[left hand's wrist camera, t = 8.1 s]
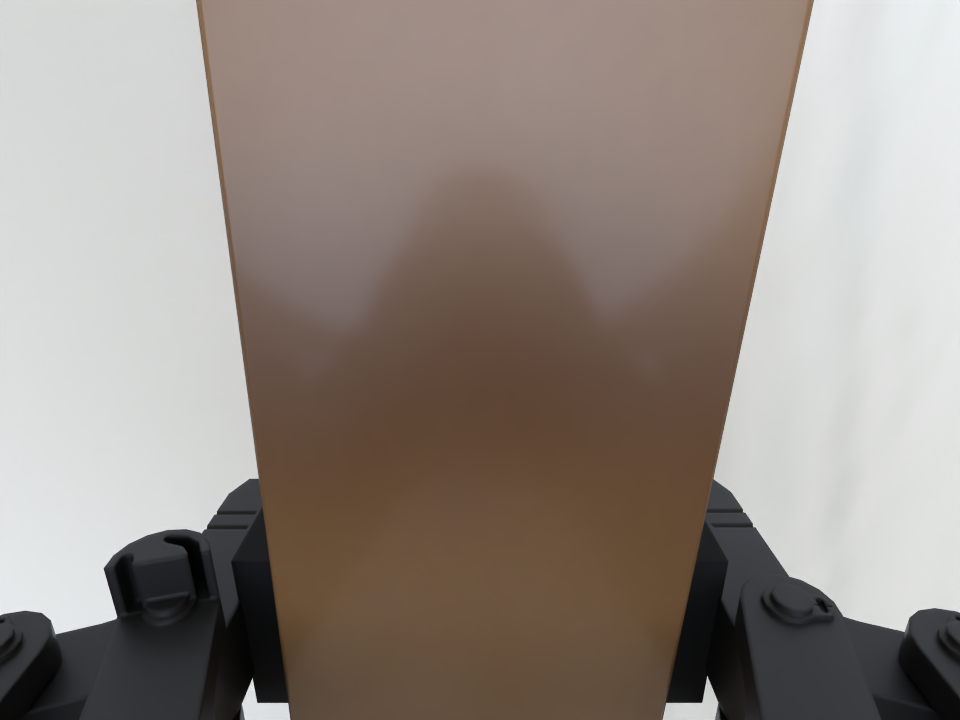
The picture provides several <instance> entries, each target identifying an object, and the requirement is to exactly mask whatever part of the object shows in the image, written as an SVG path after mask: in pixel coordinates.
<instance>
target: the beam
mask: <svg viewBox="0 0 960 720" xmlns="http://www.w3.org/2000/svg"><path fill="white" fill-rule="evenodd" d="M813 2H814V0H196V3H197V11H198V18H199V26H200V33H201V41H202V49H203V56H204V64H205V72H206V79H207V87H208V94H209V102H210V110H211V117H212V125H213V133H214V140H215V148H216V155H217V163H218V171H219V178H220V186H221V193H222V201H223V209H224V216H225V224H226V232H227V239H228V247H229V254H230V262H231V270H232V277H233V285H234V293H235V300H236V308H237V315H238V323H239V331H240V338H241V346H242V354H243V361H244V369H245V376H246V384H247V392H248V399H249V407H250V415H251V422H252V430H253V437H254V445H255V453H256V460H257V468H258V476H259V483H260V491H261V498H262V506H263V514H264V521H265V529H266V537H267V544H268V552H269V559H270V567H271V575H272V582H273V590H274V597H275V605H276V613H277V620H278V628H279V636H280V643H281V651H282V658H283V666H284V674H285V681H286V689H287V697H288V704H289V712H290V719H291V720H663V715H664V710H665V705H666V701H667V696H668V691H669V686H670V682H671V677H672V672H673V667H674V663H675V658H676V653H677V648H678V644H679V639H680V634H681V629H682V625H683V620H684V615H685V610H686V606H687V601H688V596H689V591H690V587H691V582H692V577H693V572H694V568H695V563H696V558H697V553H698V549H699V544H700V539H701V534H702V530H703V525H704V520H705V515H706V511H707V506H708V501H709V496H710V492H711V487H712V482H713V477H714V472H715V468H716V463H717V458H718V453H719V449H720V444H721V439H722V434H723V430H724V425H725V420H726V415H727V411H728V406H729V401H730V396H731V392H732V387H733V382H734V377H735V373H736V368H737V363H738V358H739V354H740V349H741V344H742V339H743V335H744V330H745V325H746V320H747V316H748V311H749V306H750V301H751V297H752V292H753V287H754V282H755V278H756V273H757V268H758V263H759V259H760V254H761V249H762V244H763V240H764V235H765V230H766V225H767V221H768V216H769V211H770V206H771V202H772V197H773V192H774V187H775V182H776V178H777V173H778V168H779V163H780V159H781V154H782V149H783V144H784V140H785V135H786V130H787V125H788V121H789V116H790V111H791V106H792V102H793V97H794V92H795V87H796V83H797V78H798V73H799V68H800V64H801V59H802V54H803V49H804V45H805V40H806V35H807V30H808V26H809V21H810V16H811V11H812V7H813Z"/></svg>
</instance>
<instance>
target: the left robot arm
mask: <svg viewBox="0 0 960 720" xmlns="http://www.w3.org/2000/svg"><path fill="white" fill-rule="evenodd" d="M104 571H105V575H106V578H107V582H108V585H109V589H110V592H111V596H112V599H113V603H114V606H115V610H116V613H117V619H116V620H112V621H109V622H106V623H103V624H99V625H94V626H90V627H86V628H82V629H77V630H73V631H69V632H64V633H60V634H56V635H55V632H54V629H53V626H52V623H51V620H50V619H48V618H47V617H46V616H45V615H43V614H42V613H38V612H30V611H21V612H15V613H8V614H3V615H0V720H245V719H244V713H243V708H242V702H243V700H244V697H245V695H246V692H247V690H248V687H249V685H250V683H251V680H252V678H253V682H254V687H255V692H256V698H257V703H288V697H287V689H286V681H285V674H284V666H283V658H282V651H281V643H280V636H279V628H278V620H277V613H276V605H275V597H274V590H273V582H272V575H271V567H270V559H269V552H268V544H267V537H266V529H265V521H264V514H263V506H262V498H261V491H260V483H259V479H249V480H248V481H246V482H245V483H243V484H242V485H241V486H239V487H238V488H236V489H235V490H234V491H232V492H231V493H230V494H229V495H228V496H227V498H226V499H225V501H224V502H223V503H222V505H221V506H220V508H219V509H218V511H217V515H214V517H213V518H212V520H211V521H210V522H209V524H208V525H207V530H204V531H203V533H202V534H201V533H199V532H195V531H191V530H187V529H182V530H166V531H163V532H159V533H155V534H151V535H147V536H145V537H143V538H141V539H139V540H137V541H134V542H132V543H130V544H128V545H127V546H126V547H124V548H123V549H122V550H120V551H119V552H118V553H116V554H115V555H114V556H113V557H112V558H111V559H110V561H109V562H108V564H107V565H106V566H105V568H104ZM707 676H708V678H709V681H710V683H711V686H712V688H713V690H714V693H715V695H716V698H717V700H718V702H719V703H718V708H717V713H716V718H715V720H960V613H959V612H956V611H949V610H943V609H936V608H933V609H926V610H919V611H918V612H916V613H915V614H914V615H913V616H911V617H910V618H909V621H908V624H907V627H906V630H905V632H902V631H898V630H893V629H889V628H885V627H880V626H876V625H872V624H867V623H863V622H859V621H855V620H852V619H849V618H846V617H843V615H842V614H841V612H840V611H839V609H838V608H837V606H836V605H835V603H834V602H833V601H832V600H831V599H830V598H829V597H827V596H826V595H825V594H824V593H823V592H821V591H820V590H819V589H817V588H815V587H813V586H811V585H809V584H807V583H805V582H804V581H802V580H799V579H795V578H792V577H789V576H788V574H787V573H786V571H785V570H784V568H783V567H782V566H781V564H780V563H779V561H778V560H777V558H776V557H775V555H774V554H773V552H772V551H771V550H770V548H769V547H768V545H767V544H766V542H765V541H764V539H763V538H762V536H761V535H760V534H759V532H758V531H757V529H756V528H755V527H753V523H752V522H751V521H750V519H749V518H748V516H747V515H746V513H743V509H742V507H741V506H740V505H739V503H738V502H737V500H736V499H735V497H734V496H733V494H732V493H731V492H730V491H729V490H727V489H726V488H725V487H723V486H722V485H720V484H719V483H718V482H716V481H715V480H713V482H712V487H711V492H710V496H709V501H708V506H707V511H706V515H705V520H704V525H703V530H702V534H701V539H700V544H699V549H698V553H697V558H696V563H695V568H694V572H693V577H692V582H691V587H690V591H689V596H688V601H687V606H686V610H685V615H684V620H683V625H682V629H681V634H680V639H679V644H678V648H677V653H676V658H675V663H674V667H673V672H672V677H671V682H670V686H669V691H668V696H667V701H666V703H702V701H703V695H704V690H705V685H706V679H707Z"/></svg>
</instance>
